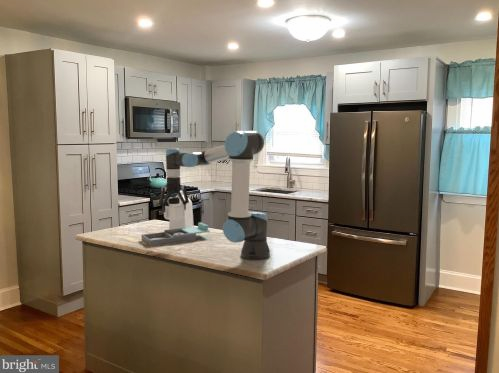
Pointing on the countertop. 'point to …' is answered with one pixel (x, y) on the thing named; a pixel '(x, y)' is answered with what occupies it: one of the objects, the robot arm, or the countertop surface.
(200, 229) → the lid
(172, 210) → the medicine bottle
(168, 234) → the housing
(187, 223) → the milk
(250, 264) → the countertop surface
